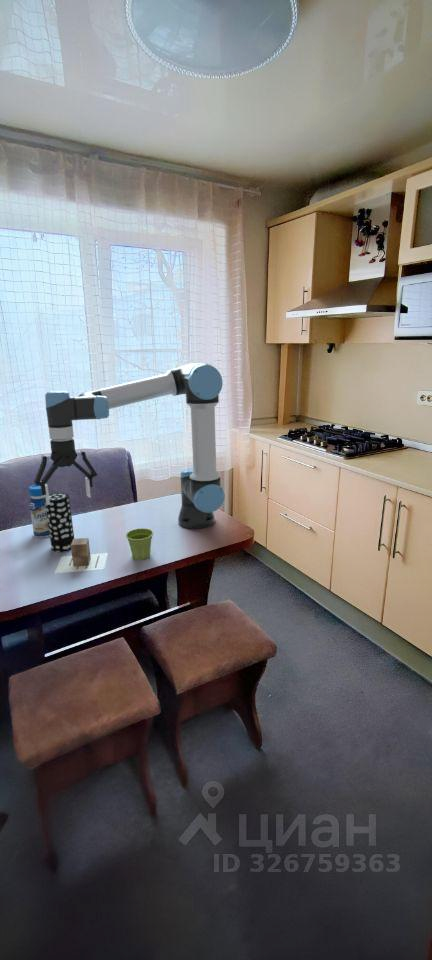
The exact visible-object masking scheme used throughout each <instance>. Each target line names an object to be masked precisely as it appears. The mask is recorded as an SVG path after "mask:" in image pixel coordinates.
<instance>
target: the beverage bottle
mask: <svg viewBox="0 0 432 960" xmlns="http://www.w3.org/2000/svg"><path fill="white" fill-rule="evenodd" d="M28 493H29V496H30V499H29V500H28V501H29V502H28V505H29V514H30V518H31V524H32V525H31V526H32V532H33V536H34V537H35V538H40V539H42V538H50V534H49V527H48V520H47V513H46V506H45V499H44V498H45V495H43V494H42V493H41V486H40V485H36V484H33V485H31V486H29V487H28Z"/></svg>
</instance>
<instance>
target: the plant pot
mask: <svg viewBox="0 0 432 960" xmlns="http://www.w3.org/2000/svg"><path fill="white" fill-rule="evenodd" d="M153 535H154V531H153V530H152V529H150V528H146V527H145V528H143V527H141V528H135V529H130V530H129V531H128V532H126V534H125V538H127V541H128V544H129V546H130V552H131V556H132V558H133V559H134V560H140V561H141V560H144V559H149V558H150V557H151V548H152V547H151V546H152V540H153Z"/></svg>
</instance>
